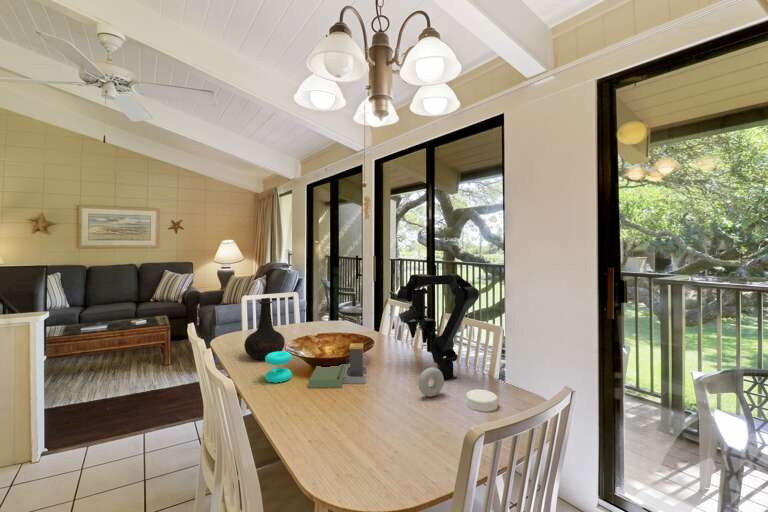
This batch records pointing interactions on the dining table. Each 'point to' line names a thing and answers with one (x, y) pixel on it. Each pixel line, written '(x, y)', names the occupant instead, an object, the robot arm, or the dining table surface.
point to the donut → (425, 379)
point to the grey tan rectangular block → (356, 359)
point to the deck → (334, 377)
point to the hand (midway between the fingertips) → (418, 340)
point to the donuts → (278, 373)
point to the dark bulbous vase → (264, 335)
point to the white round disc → (481, 400)
